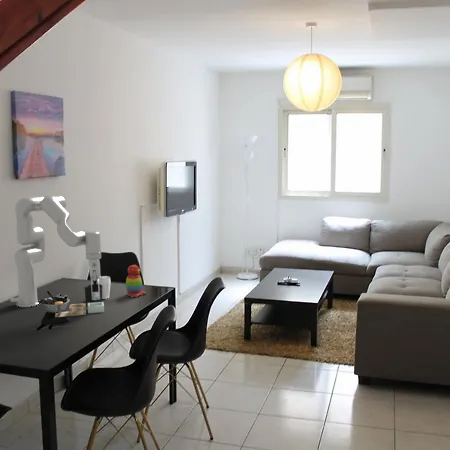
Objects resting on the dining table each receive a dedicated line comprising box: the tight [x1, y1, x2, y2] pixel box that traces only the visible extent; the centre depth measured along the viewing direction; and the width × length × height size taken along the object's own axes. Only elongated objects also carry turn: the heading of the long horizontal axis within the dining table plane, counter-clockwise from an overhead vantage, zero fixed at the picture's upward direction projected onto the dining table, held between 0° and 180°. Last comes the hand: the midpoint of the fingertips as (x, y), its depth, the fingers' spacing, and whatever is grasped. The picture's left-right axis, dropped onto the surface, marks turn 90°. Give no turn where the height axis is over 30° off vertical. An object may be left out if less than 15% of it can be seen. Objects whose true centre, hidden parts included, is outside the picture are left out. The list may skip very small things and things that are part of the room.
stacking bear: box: [125, 264, 147, 297], centre depth 321 cm, size 11×10×18 cm
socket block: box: [54, 302, 87, 318], centre depth 282 cm, size 15×9×6 cm, turn 103°
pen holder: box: [83, 284, 103, 305], centre depth 303 cm, size 9×9×10 cm
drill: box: [90, 277, 100, 300], centre depth 285 cm, size 4×4×12 cm
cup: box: [99, 275, 112, 300], centre depth 315 cm, size 9×9×12 cm
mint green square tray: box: [87, 301, 105, 314], centre depth 287 cm, size 8×8×4 cm
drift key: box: [54, 300, 64, 312], centre depth 280 cm, size 4×4×4 cm
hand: (95, 290), depth 285 cm, fingers closed on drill, 4 cm apart
